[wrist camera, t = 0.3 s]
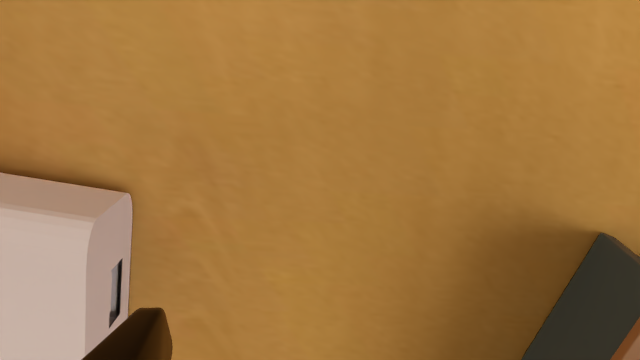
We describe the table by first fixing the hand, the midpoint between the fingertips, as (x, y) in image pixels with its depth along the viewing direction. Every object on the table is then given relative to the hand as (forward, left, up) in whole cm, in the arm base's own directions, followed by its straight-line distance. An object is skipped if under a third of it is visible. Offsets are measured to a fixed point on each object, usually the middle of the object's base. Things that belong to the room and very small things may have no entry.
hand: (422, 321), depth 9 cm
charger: (-15, +14, -15) cm, 25 cm away
